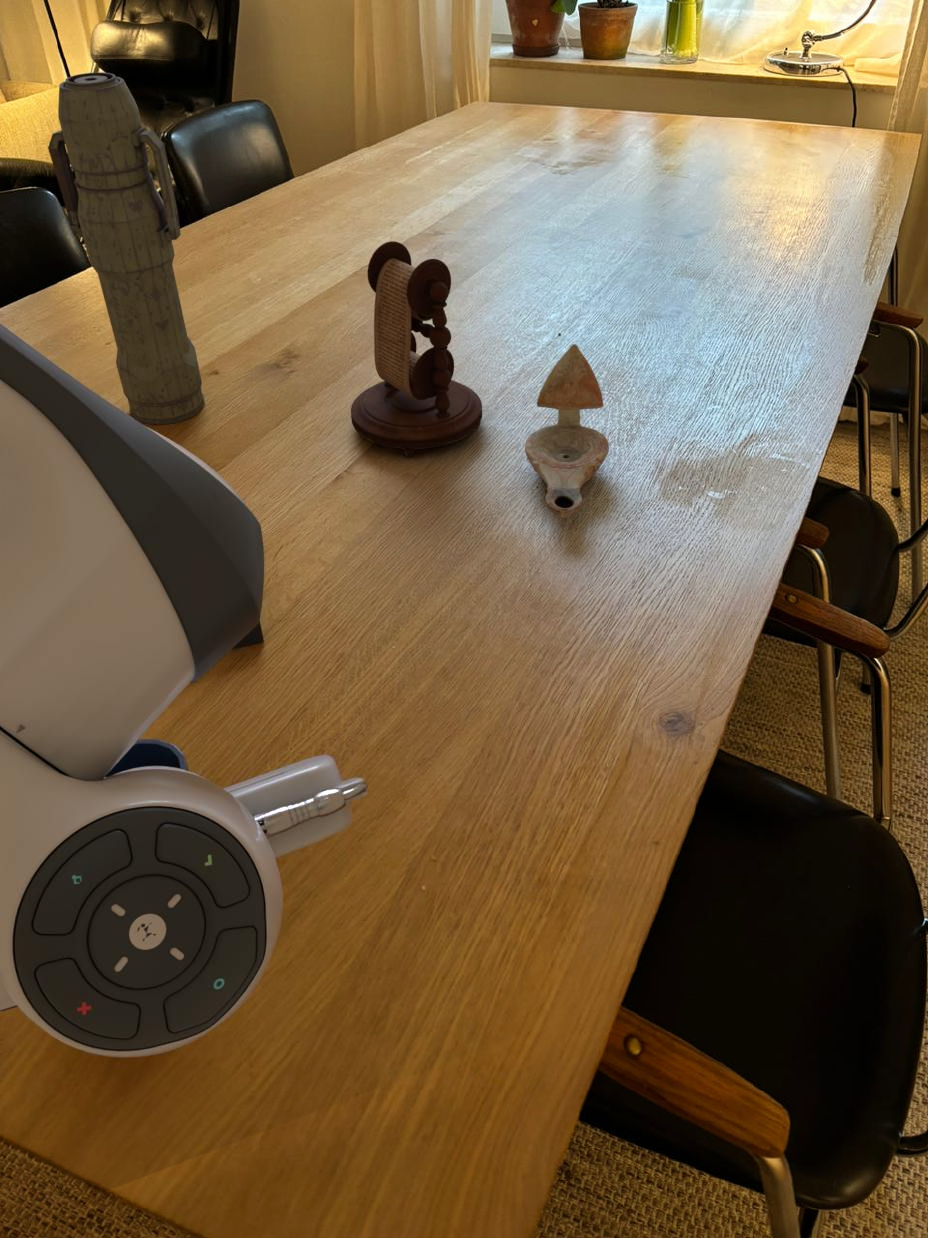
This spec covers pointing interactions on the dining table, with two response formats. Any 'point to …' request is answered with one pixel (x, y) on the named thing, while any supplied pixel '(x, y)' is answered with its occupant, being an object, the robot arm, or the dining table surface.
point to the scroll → (412, 359)
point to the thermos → (128, 241)
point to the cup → (150, 756)
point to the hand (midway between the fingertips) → (153, 842)
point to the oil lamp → (567, 433)
